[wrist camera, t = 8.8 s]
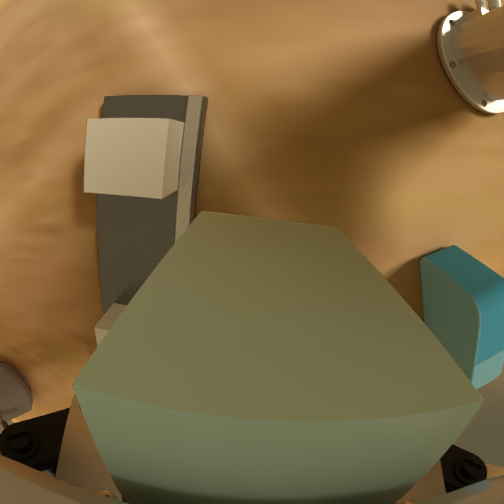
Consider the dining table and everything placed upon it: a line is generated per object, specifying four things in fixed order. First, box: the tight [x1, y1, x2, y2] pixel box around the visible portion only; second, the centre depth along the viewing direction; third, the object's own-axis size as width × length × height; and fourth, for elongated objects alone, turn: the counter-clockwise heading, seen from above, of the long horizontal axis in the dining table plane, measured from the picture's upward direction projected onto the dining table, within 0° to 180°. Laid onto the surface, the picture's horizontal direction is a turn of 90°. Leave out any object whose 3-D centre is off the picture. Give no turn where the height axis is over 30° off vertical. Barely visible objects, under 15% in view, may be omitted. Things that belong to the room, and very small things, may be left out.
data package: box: [420, 245, 504, 389], centre depth 25 cm, size 12×4×12 cm, turn 19°
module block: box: [72, 211, 484, 504], centre depth 7 cm, size 8×4×8 cm, turn 173°
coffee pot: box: [0, 362, 33, 429], centre depth 32 cm, size 21×12×15 cm, turn 106°
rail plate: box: [97, 95, 208, 314], centre depth 29 cm, size 30×10×2 cm, turn 173°
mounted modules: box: [84, 118, 185, 346], centre depth 26 cm, size 25×7×5 cm, turn 173°
